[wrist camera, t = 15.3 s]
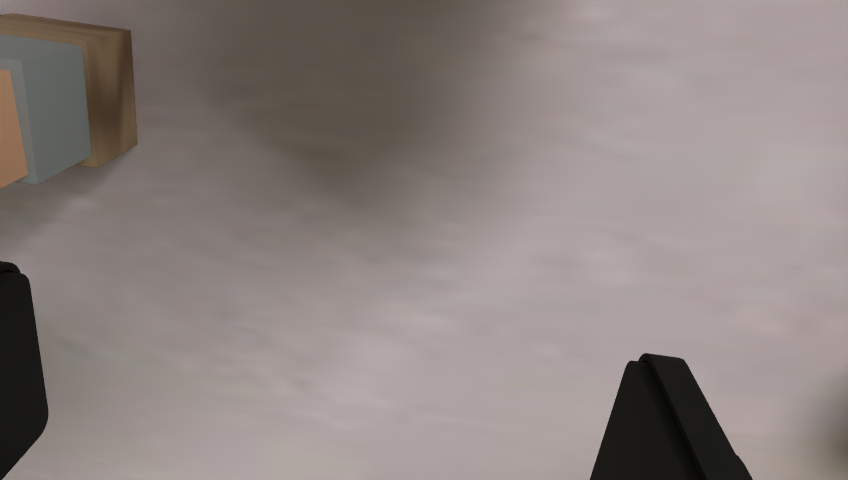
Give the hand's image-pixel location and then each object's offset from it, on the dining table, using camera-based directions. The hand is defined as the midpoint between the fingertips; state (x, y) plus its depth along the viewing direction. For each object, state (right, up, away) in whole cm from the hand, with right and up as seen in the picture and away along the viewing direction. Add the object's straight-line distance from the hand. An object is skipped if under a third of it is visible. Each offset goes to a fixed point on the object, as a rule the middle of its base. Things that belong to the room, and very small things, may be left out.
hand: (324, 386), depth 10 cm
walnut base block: (-20, +12, +29) cm, 37 cm away
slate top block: (-20, +10, +25) cm, 33 cm away
